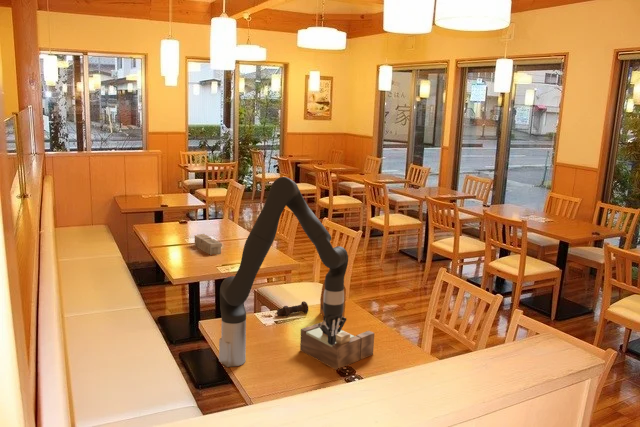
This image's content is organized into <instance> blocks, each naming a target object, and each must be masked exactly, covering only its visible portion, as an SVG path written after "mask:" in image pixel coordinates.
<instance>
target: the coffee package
mask: <svg viewBox="0 0 640 427" xmlns="http://www.w3.org/2000/svg"><path fill="white" fill-rule="evenodd" d="M329 270H330V268H328V270H327V273H328V272H329ZM324 290H325V279H324V280H323V283H322V286H321V291H320V292H321V294H320V299H319V300H320V306H319V307H320V308H319V314H320V315H322V316H323V318H324V312H323V301H324ZM346 295H347V289H346V286H345V285H344V306H343V313H342V316H343V317H345V313H346V298H347V297H346Z"/></svg>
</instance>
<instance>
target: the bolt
mask: <svg viewBox="0 0 640 427" xmlns="http://www.w3.org/2000/svg"><path fill="white" fill-rule="evenodd" d="M308 312H309V305H308V302H306V301H301V303H300V304H298V305H292V306H288V305H284V306H283V307H282V308H278V309H276V315H277V316H280V317H281V316H285V317H289V316H290V315H291V314H296V313H304V314H308ZM288 315H289V316H288Z"/></svg>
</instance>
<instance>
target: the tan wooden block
mask: <svg viewBox="0 0 640 427" xmlns="http://www.w3.org/2000/svg"><path fill="white" fill-rule="evenodd" d="M350 334H351V333H349V332H347V331H345V332H342V333H339V334H337V335H336V342H337V343H339V344H344V343H346V342H349V341H350Z"/></svg>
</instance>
